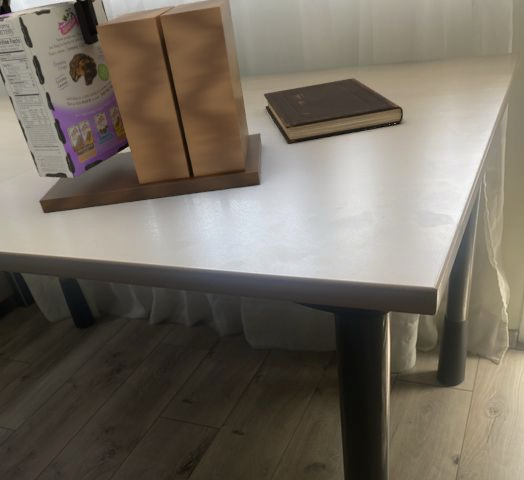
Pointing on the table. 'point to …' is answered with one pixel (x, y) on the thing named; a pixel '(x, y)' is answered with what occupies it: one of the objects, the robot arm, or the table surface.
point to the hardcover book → (330, 110)
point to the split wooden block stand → (170, 110)
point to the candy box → (60, 89)
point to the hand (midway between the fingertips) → (56, 47)
